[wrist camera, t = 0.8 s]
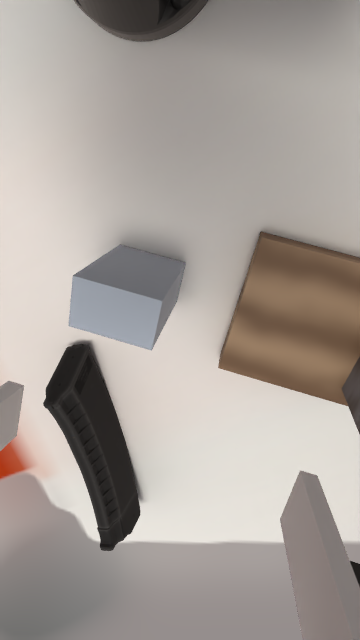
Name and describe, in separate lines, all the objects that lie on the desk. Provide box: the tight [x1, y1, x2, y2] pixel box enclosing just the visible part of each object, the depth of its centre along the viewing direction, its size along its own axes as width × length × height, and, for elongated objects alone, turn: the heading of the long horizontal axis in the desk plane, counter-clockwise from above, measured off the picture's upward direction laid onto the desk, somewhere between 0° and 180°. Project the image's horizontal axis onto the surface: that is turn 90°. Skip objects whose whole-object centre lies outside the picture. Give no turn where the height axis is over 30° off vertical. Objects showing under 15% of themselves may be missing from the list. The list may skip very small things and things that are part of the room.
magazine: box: [43, 344, 140, 551], centre depth 48 cm, size 17×3×30 cm
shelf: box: [218, 232, 360, 434], centre depth 34 cm, size 16×16×13 cm
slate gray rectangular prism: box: [69, 245, 186, 350], centre depth 36 cm, size 5×8×12 cm, turn 77°
